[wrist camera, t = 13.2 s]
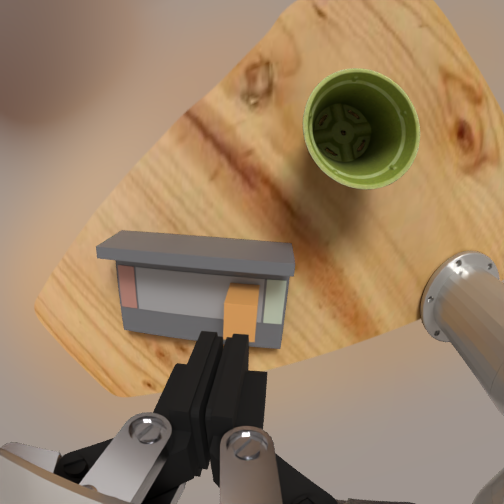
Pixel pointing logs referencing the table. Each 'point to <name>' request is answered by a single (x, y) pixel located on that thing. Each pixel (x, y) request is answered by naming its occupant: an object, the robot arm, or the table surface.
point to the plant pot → (361, 128)
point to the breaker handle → (241, 310)
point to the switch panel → (197, 282)
